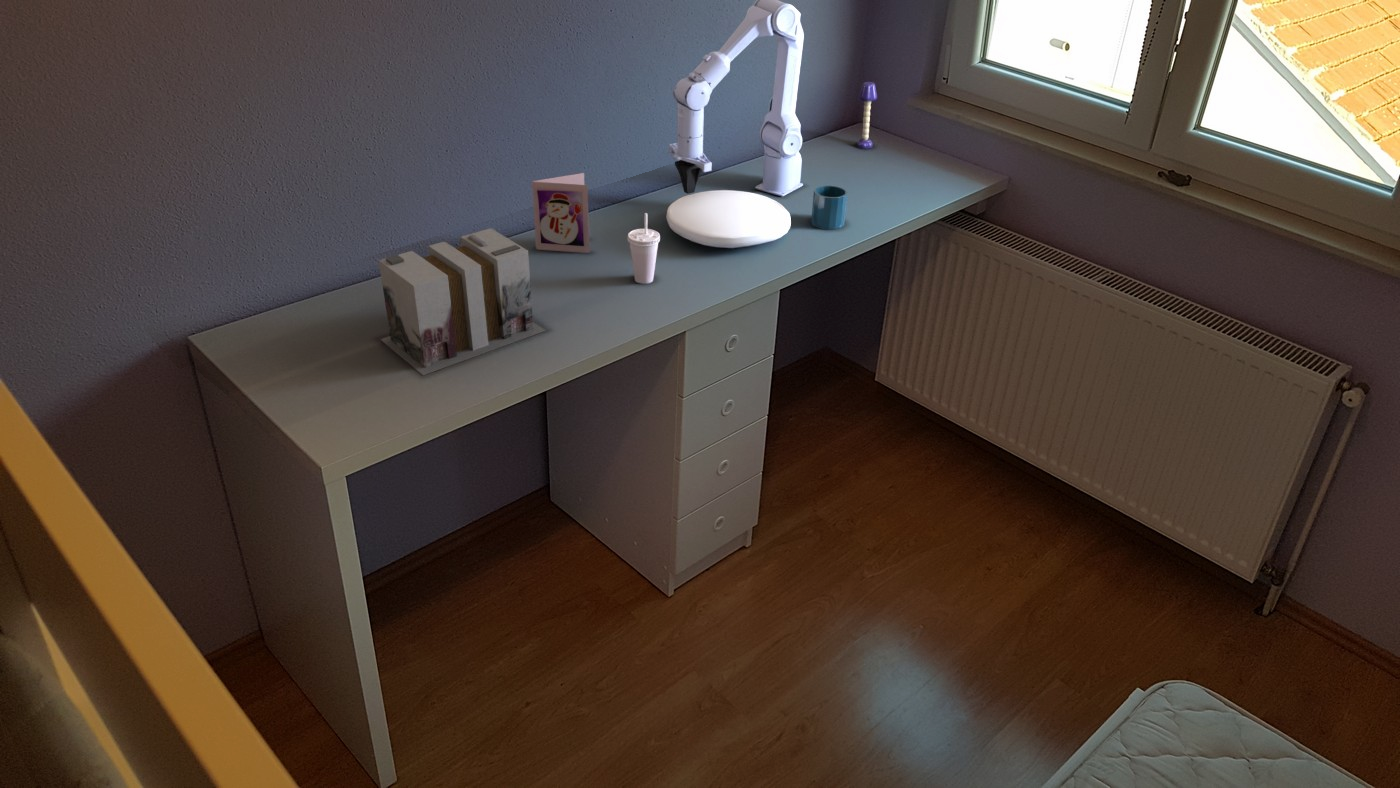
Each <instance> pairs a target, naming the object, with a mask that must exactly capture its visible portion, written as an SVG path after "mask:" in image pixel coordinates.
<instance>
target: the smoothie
mask: <svg viewBox="0 0 1400 788" xmlns="http://www.w3.org/2000/svg"><path fill="white" fill-rule="evenodd" d="M643 214H644V215H643V216H644V228H636V229H633V230H631V231H629V232H628V233H627V239H626V240H627V242H628V243H629V249H630V255H631V262H632V270H633V276H634V281H635V282H636V283H637V284H642V285H643V284H650V283H652V282H653V281H654V277H655V270H656V261H657V256H658V248H659V243H660V241H661V235H660V233H659V232H658V231H656V230H654V229H651V228H648V213H647V212H644V213H643Z"/></svg>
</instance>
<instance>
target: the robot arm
mask: <svg viewBox="0 0 1400 788" xmlns="http://www.w3.org/2000/svg"><path fill="white" fill-rule="evenodd" d="M801 15H802V14H801V12H800V11H799V10H798V9H797V8H796V7H795V6H794V5H792V4H790V3H786V2H783V1H781V0H755V1H754V3H753V4H751V6H750V7H749V8H748V9H747V11H746V15H745V18H744V19H743V20H742V21H741V23H740V24H739V25H738V26H737V27H736V29H735V30H734V31H733V32H732V34H731V35H730V36H729V38H728V39H727V40H726V42H725V43H724V44H722V46H721V48H719V50H717V51H710V52H709V53H708V54H705V55H704V56H703V57H702V59H703V60H702V61H701V62H700V63H699V65H697V67H696V68H695V69H694V70H693V71H691V72H689V74H688V76H687V77H684V78H682V79H680V80H679V81H678V82H677V83H676V85H675V87H674V90H672V96H673V99H674V100H675V102H676V104H677V107H676V108H677V140H676V141H677V142H675V143H669V145H668V152H669V154H672V155H673V156H672V157H673V158H672V159H674V160H676V161H674V166H675V168H676V170H677V172H678V174H679V177H680V181H681V185H682V189H683V192H684V193H685V194H686V195H687V194H688V195H690V194H694V193H696V187H697V185H698V181H699V179H700V176H701V174H702V173H707V172H712V167H713V166H712V164H713V163H712V161H710V160H709V159H708V157H707V156H706V154H705V153H704V122H705V121H704V119H705V118H704V117H705V116H704V115H705V106H707V105H708V103H709V102H710V97H711V94H712V93H713V90H714V89H715V88H716V87H717V85H718V84H719V83H720V82H721V81H722V80H723V79H724V78H725V77H726V76H727V75H728V74H729V73H730V72H731V71H730V70H731V62H733V61H734V59H735V58H737V57H738V56H739V55H740V54H741V52H742V51H744V50H745V49H746V48H747V47H748V46H749V45H750V44H751V43H752V42H753V41H754V40H756V38H763V37H771V36H773V37H774V38H775V39H776V40H777V42H778V45H777V54H776V64H775V72H774V80H773V92H772V98H771V99H772V100H771V109H770V111H769V112H767V113H766V114H765V115H764V121H763V124H762V125H761V128H760V130H759V140H760V142H761V143H762V144H763V150H764V154H763V170H762V171H763V173H762V182H761V183H760V184H758V185H756V186H754V190H758V191H761V192H766V193H769V194H772V195H775V196H779V197H785V196H787V195H788V194H790V193H792V192H794V191H796V190H797V189H799V188H801V187H803V186H804V183H802V182H801V177H802V164H803V160H802V156H801V153H800V152H799V151H800V150H801V148H802V145H803V137H802V134H801V128H802V126H801V125H802V124H801V123H800V120H799V119H798V117H797V115H796V108H797V100H798V89H799V82H800V73H801V66H802V65H801V64H802V56H803V48H804V47H803V46H804V41H805V33H804V29H803V27H802V26H803V25H802V22H801Z"/></svg>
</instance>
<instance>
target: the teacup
mask: <svg viewBox="0 0 1400 788" xmlns="http://www.w3.org/2000/svg"><path fill="white" fill-rule="evenodd" d="M847 199H848V190H846V189H845V188H844V187H842V186H837V185H831V184H830V185H825V184H824V185H820V186H817V187H815V188H814V190H813V195H812V210H811V219H810V220H811V221H810V222H811V225H812V226H814V227H816V228H818V229H821V230H826V231H827V230H828V231H833V230H839V229H841V228H843V227H844V225H845V221H846V213H847V212H846V211H847V201H848V200H847Z"/></svg>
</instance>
